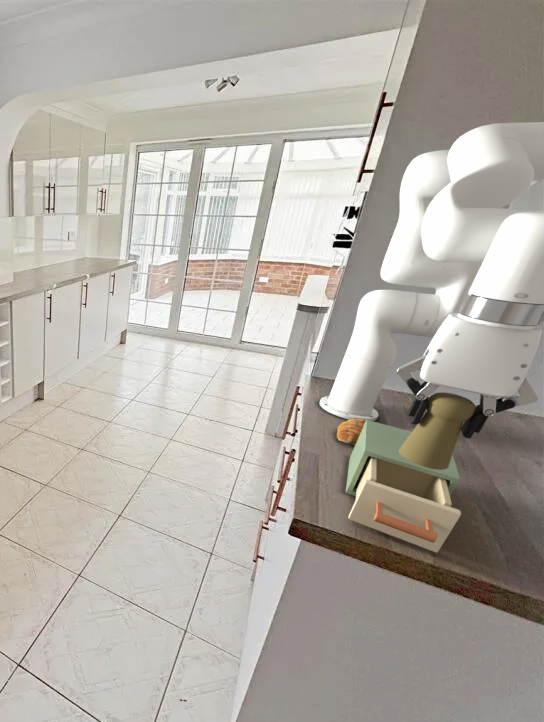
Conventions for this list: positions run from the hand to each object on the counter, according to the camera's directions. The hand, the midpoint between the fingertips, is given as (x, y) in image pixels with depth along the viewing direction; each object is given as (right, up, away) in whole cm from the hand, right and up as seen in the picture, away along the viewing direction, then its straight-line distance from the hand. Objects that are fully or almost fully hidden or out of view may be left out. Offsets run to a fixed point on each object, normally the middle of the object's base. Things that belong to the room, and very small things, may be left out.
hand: (439, 426), depth 62 cm
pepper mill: (0, -5, +3) cm, 6 cm away
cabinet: (+6, -14, +16) cm, 22 cm away
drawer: (-1, -17, +7) cm, 18 cm away
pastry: (+13, -6, +33) cm, 36 cm away
